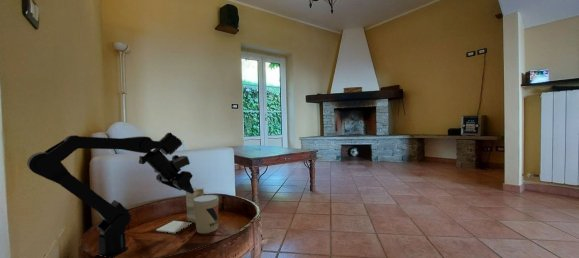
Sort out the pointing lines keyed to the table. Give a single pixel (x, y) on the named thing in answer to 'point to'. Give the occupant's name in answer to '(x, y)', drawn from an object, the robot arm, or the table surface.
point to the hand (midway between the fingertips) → (187, 191)
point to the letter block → (190, 200)
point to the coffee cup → (206, 213)
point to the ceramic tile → (173, 226)
